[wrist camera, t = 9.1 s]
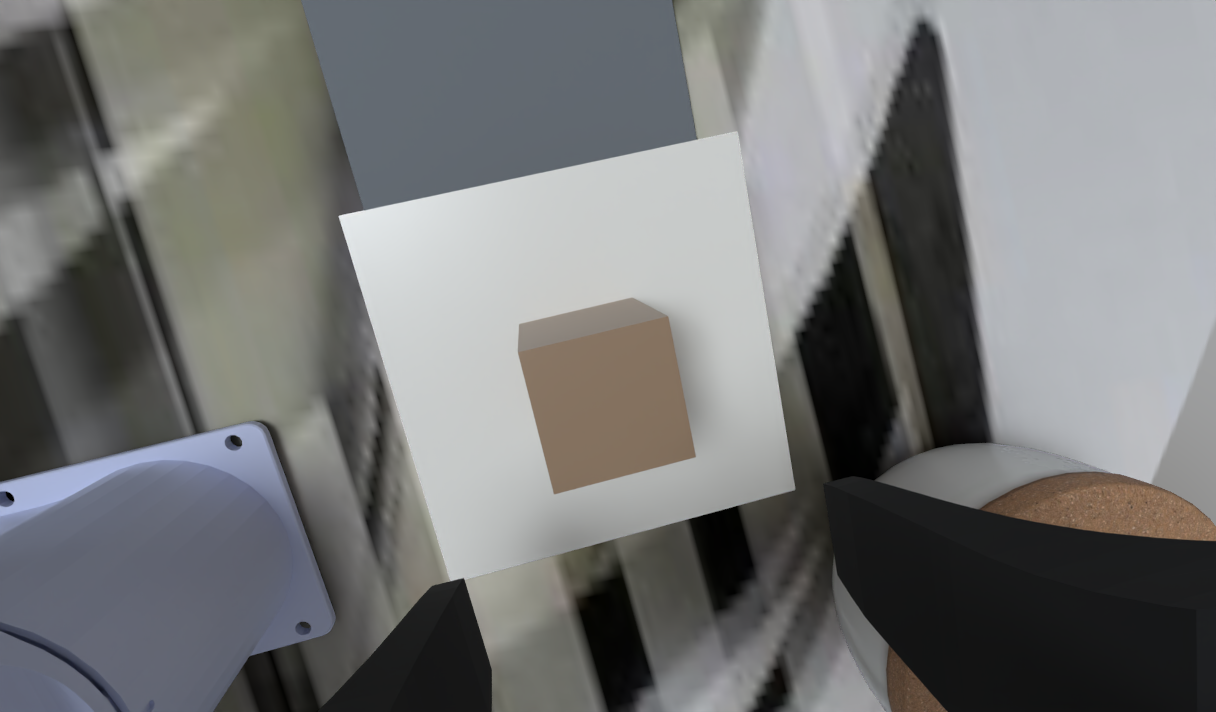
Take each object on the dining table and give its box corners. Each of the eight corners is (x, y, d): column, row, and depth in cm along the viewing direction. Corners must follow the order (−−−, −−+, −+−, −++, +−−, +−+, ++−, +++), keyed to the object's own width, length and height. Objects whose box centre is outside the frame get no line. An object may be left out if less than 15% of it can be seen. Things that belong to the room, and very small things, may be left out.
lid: (454, 568, 17) (428, 689, 13) (348, 217, 15) (270, 207, 11) (783, 479, 18) (873, 561, 14) (727, 136, 16) (810, 94, 11)
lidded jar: (806, 399, 23) (996, 505, 14) (1056, 412, 24) (1374, 515, 15) (768, 654, 25) (912, 897, 16) (1002, 650, 26) (1257, 869, 17)
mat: (373, 233, 20) (370, 232, 19) (257, -153, 17) (253, -160, 17) (697, 161, 21) (700, 160, 20) (630, -213, 18) (632, -220, 18)
